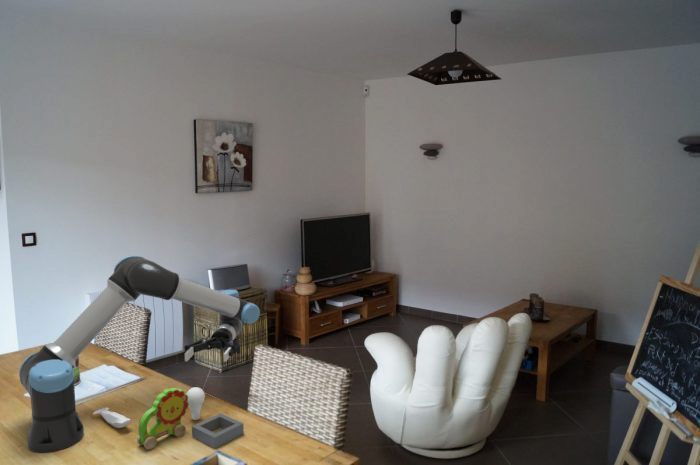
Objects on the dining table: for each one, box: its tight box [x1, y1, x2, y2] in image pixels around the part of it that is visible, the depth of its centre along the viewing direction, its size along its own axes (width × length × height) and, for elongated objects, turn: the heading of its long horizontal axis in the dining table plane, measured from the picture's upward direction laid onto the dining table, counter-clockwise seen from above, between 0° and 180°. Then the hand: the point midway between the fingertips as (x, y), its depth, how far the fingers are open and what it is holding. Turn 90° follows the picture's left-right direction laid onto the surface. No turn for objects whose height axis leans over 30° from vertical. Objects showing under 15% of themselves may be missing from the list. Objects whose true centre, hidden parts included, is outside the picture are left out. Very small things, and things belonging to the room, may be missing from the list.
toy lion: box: [136, 387, 189, 450], centre depth 163 cm, size 16×5×15 cm, turn 141°
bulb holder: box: [191, 413, 245, 450], centre depth 166 cm, size 11×11×4 cm
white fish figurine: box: [92, 407, 132, 429], centre depth 174 cm, size 6×18×4 cm, turn 50°
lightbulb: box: [185, 386, 206, 421], centre depth 176 cm, size 6×6×11 cm
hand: (205, 357), depth 184 cm, fingers open, 13 cm apart
